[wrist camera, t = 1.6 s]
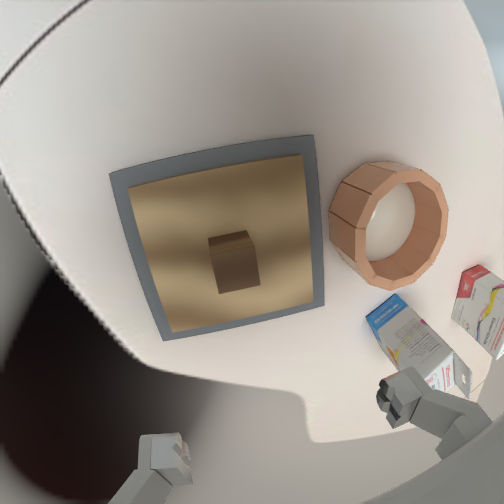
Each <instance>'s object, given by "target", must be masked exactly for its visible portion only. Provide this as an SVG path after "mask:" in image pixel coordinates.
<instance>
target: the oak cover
mask: <svg viewBox="0 0 504 504" xmlns="http://www.w3.org/2000/svg"><path fill="white" fill-rule="evenodd" d="M128 192H129V196H130V200H131V204H132V208H133V212H134V216H135V220H136V223H137V227H138V230H139V234H140V238H141V241H142V244H143V248H144V251H145V254H146V258H147V261H148V264H149V267H150V270H151V274H152V277H153V280H154V283H155V286H156V289H157V292H158V294H159V297H160V300H161V303H162V306H163V309H164V311H165V314H166V317H167V320H168V322H169V325H170V328H171V330H172V333H173V332H179V331H184V330H190V329H195V328H200V327H205V326H210V325H215V324H220V323H225V322H229V321H234V320H239V319H243V318H248V317H252V316H256V315H261V314H265V313H269V312H273V311H278V310H282V309H286V308H290V307H294V306H298V305H302V304H306V303H310V302H313V281H312V262H311V246H310V231H309V218H308V206H307V195H306V184H305V174H304V165H303V156H302V155H300V154H298V155H290V156H283V157H275V158H269V159H262V160H255V161H249V162H243V163H237V164H232V165H226V166H221V167H215V168H210V169H205V170H200V171H195V172H190V173H186V174H181V175H177V176H172V177H168V178H163V179H159V180H155V181H151V182H147V183H143V184H139V185H135V186H131V187H129V188H128Z"/></svg>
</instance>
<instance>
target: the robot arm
mask: <svg viewBox="0 0 504 504" xmlns="http://www.w3.org/2000/svg"><path fill="white" fill-rule="evenodd" d="M379 386H380V389H379V390H378V391H377V395H376V398H377V403H378V406H379V408H380V409H381V411H383V412H386V413H387V415H386V419H387V420H388V422H389V424H390V425H391V427H392V428H393V429H394V428H396V427H398V426H401V425H403V424H405V423H407V422H409V421H410V423H412V424H414V425H416V426H418V427H420V428H421V429H423V430H425V431H427V432H429V433H431V434H433V435H435V436H438V437H439V438H441V441H440V442H439V444H438V445H437V446H436V451H437V453H438V455H439V456H440V458H441V459H442V461H440V462H439V463H437V464H435V465H434V466H432V467H431V468H429V469H427V470H426V471H424V472H422V473H421V474H419V475H417V476H415V477H414V478H412V479H410V480H408V481H406V482H404V483H402V484H400V485H399V486H397V487H395V488H393V489H391V490H389V491H386V492H384V493H382V494H380V495H378V496H376V497H373V498H371V499H369V500H367V501H364V502H362V503H360V504H504V412H503V413H502V414H501V415H500V416H499V417H498V418H497V419H496V420H494V421H493V422H492V421H491V419H490V418H489V417H488V415H487V414H486V413H485V412H484V411H483V409H482V408H481V407H480V406H479V405H478V403H475V402H472V401H469V400H466V399H463V398H460V397H457V396H454V395H451V394H448V393H445V392H442V391H440V390H437V389H435V390H432V388H431V387H430V386H429V385H428V384H427V382H426V381H425V380H424V379H423V378H422V376H421V375H420V374H419V373H418V372H417V370H416V369H415V368H414V367H412V366H411V367H408V368H406V369H404V370H402V371H399V372H397V373H395V374H393V375H390V376H388V377H386V378H384V379H382V380H381V381H380V383H379ZM190 461H191V459H190V453H189V448H188V446H187V444H186V443H185V442H184V441H182V440H181V436H180V434H179V433H169V434H156V435H154V434H153V435H141V437H140V441H139V457H138V470H134V471H133V473H132V474H131V475H130V477H129V478H128V479H127V480H126V482H125V483H124V484H123V486H122V487H121V488H120V490H119V491H118V492H117V493H116V495H115V496H114V497H113V498H112V500H111V501H110V502H109V503H108V504H164V502H165V501H166V499H167V497H168V495H169V493H170V492H171V490H172V488H173V486H177V485H188V484H193V482H192V471H191V469H190V468H189V467H188V465H189V463H190Z"/></svg>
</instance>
